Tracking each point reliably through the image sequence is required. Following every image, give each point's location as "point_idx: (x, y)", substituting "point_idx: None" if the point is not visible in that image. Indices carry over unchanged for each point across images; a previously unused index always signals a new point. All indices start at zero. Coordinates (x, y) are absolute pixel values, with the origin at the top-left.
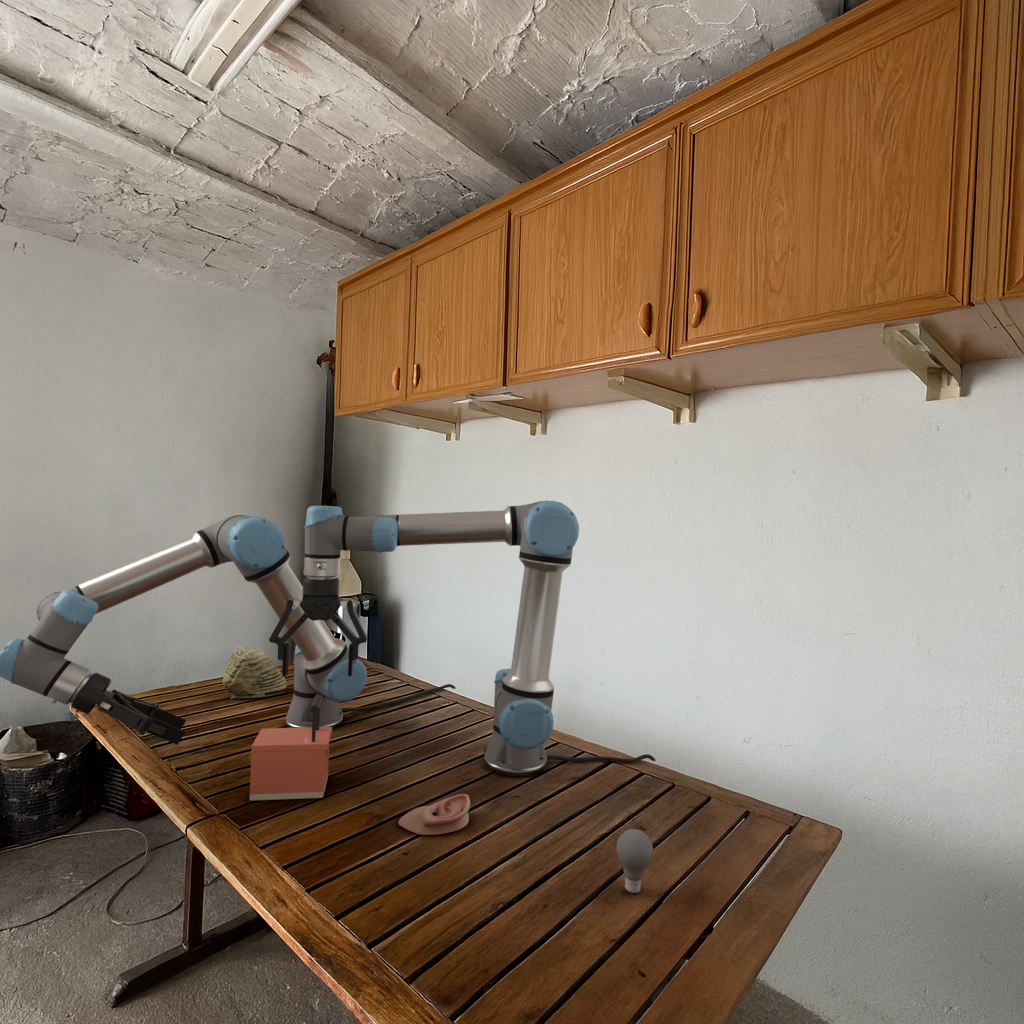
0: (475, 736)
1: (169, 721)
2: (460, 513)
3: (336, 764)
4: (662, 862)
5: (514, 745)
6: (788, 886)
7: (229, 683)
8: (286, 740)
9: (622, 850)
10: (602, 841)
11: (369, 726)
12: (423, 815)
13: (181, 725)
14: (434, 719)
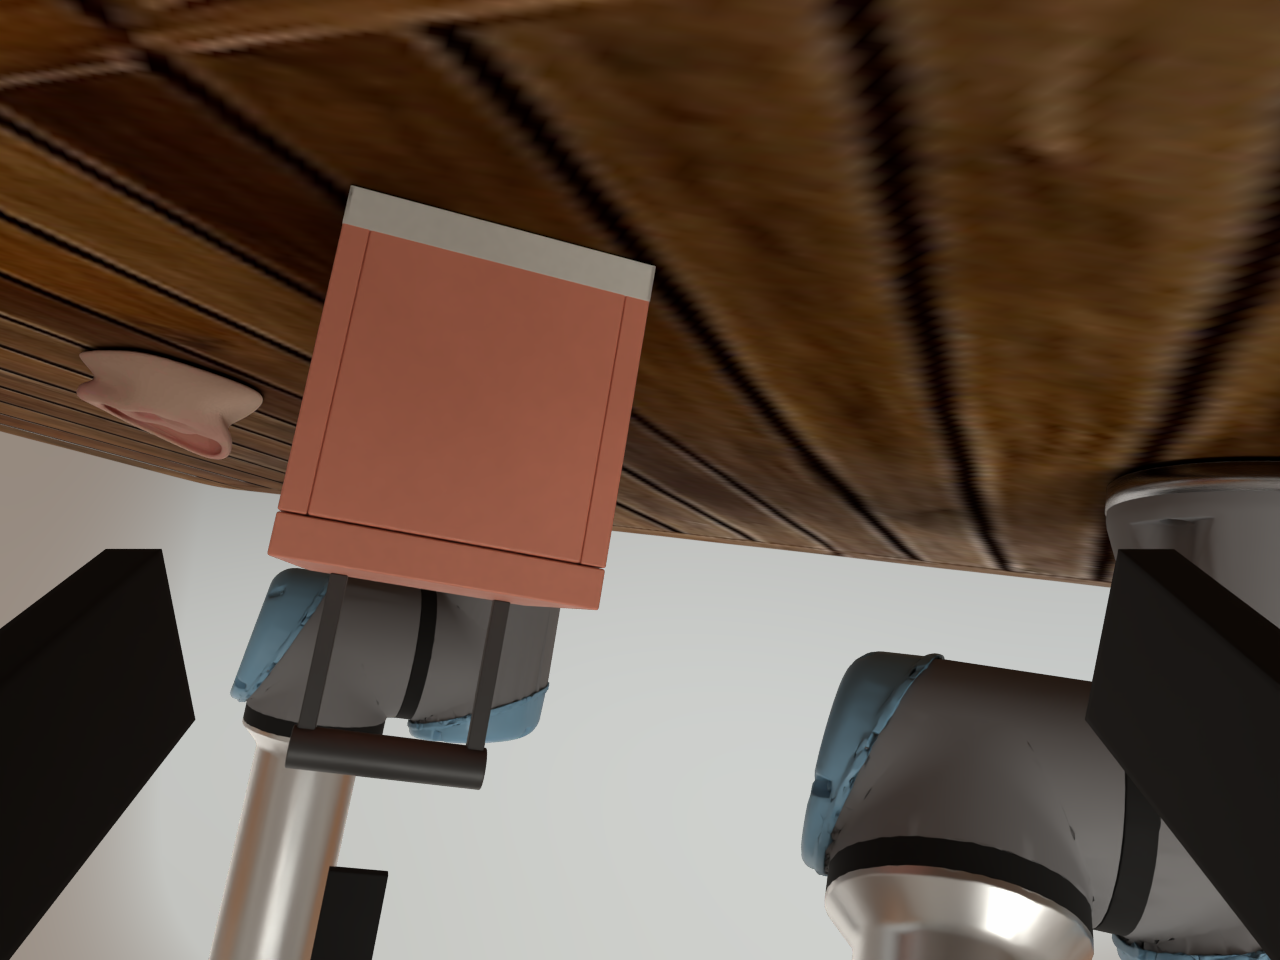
0: (726, 518)
1: (1233, 763)
2: None
3: (693, 405)
4: (71, 427)
5: (276, 580)
6: (38, 439)
7: None
8: (357, 574)
9: None
10: (133, 428)
11: (1015, 507)
12: (104, 403)
13: (1111, 654)
14: (919, 538)
